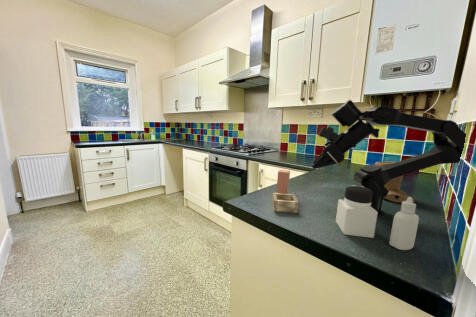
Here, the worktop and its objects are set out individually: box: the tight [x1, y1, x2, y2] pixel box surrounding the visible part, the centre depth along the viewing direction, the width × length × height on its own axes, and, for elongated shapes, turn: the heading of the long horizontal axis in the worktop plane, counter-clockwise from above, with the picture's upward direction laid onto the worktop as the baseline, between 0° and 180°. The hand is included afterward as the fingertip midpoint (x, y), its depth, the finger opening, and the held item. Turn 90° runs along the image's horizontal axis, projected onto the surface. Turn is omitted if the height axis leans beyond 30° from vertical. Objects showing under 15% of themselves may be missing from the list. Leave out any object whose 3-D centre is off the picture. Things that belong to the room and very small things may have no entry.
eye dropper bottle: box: [389, 196, 420, 251], centre depth 44 cm, size 4×6×12 cm
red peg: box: [276, 169, 291, 194], centre depth 76 cm, size 4×4×10 cm
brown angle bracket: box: [374, 161, 415, 204], centre depth 77 cm, size 15×12×15 cm
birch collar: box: [271, 192, 299, 214], centre depth 65 cm, size 8×8×4 cm
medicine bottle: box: [335, 184, 379, 239], centre depth 51 cm, size 7×7×12 cm
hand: (313, 165), depth 69 cm, fingers open, 9 cm apart
